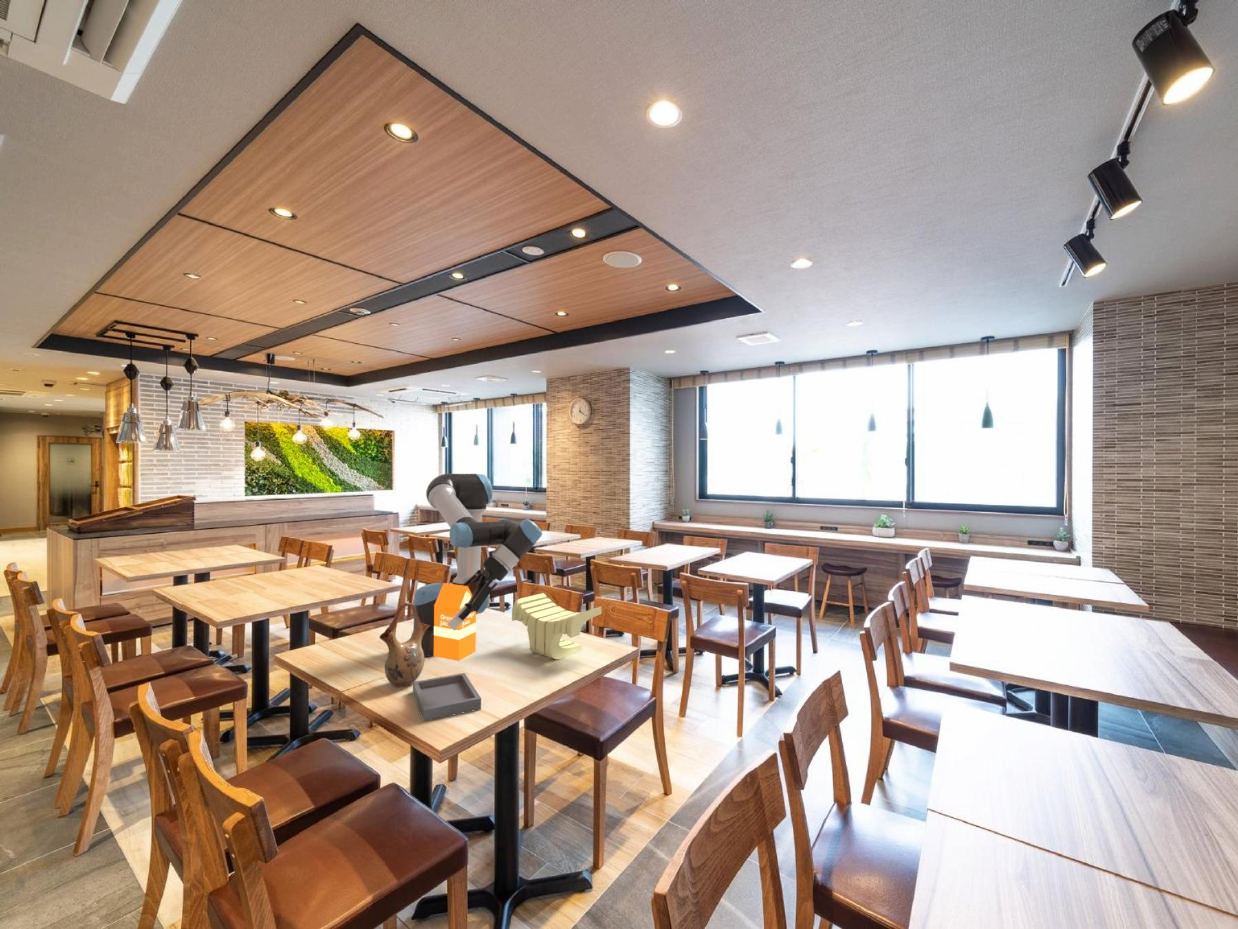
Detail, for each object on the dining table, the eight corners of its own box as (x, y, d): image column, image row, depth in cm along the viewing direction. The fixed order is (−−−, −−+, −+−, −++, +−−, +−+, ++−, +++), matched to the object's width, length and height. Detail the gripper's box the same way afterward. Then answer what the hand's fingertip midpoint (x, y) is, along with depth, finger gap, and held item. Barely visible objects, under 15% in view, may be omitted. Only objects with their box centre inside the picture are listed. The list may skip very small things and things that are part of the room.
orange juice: (451, 647, 151) (452, 580, 151) (476, 651, 148) (477, 583, 148) (433, 656, 144) (434, 586, 144) (458, 661, 141) (459, 589, 140)
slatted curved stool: (511, 648, 189) (512, 600, 189) (542, 637, 202) (543, 593, 202) (570, 668, 171) (571, 615, 171) (600, 655, 183) (601, 606, 184)
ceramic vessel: (388, 697, 146) (390, 610, 147) (370, 689, 151) (372, 605, 152) (436, 679, 160) (438, 599, 161) (418, 672, 165) (420, 595, 166)
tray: (412, 692, 150) (413, 682, 150) (464, 682, 158) (464, 672, 158) (423, 721, 133) (423, 710, 133) (480, 709, 140) (481, 698, 141)
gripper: (522, 579, 144) (465, 642, 136) (496, 564, 164) (446, 618, 156) (504, 561, 141) (445, 625, 133) (480, 549, 161) (428, 603, 153)
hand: (445, 621), depth 145 cm, fingers closed on orange juice, 11 cm apart
